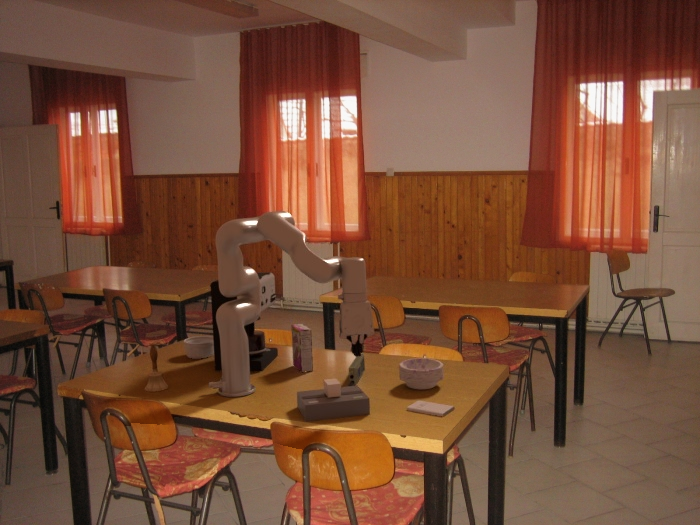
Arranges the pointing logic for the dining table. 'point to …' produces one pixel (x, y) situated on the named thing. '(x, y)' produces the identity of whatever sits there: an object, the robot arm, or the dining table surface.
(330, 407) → the switch panel
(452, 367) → the dining table surface
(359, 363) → the handheld radio
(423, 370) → the pale lavender bowl
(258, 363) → the coffee maker
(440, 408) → the external hard drive
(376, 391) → the dining table surface
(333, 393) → the knob
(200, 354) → the ramekin
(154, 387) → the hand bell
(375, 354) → the dining table surface
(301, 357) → the candy bar box
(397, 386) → the dining table surface
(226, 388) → the robot arm
